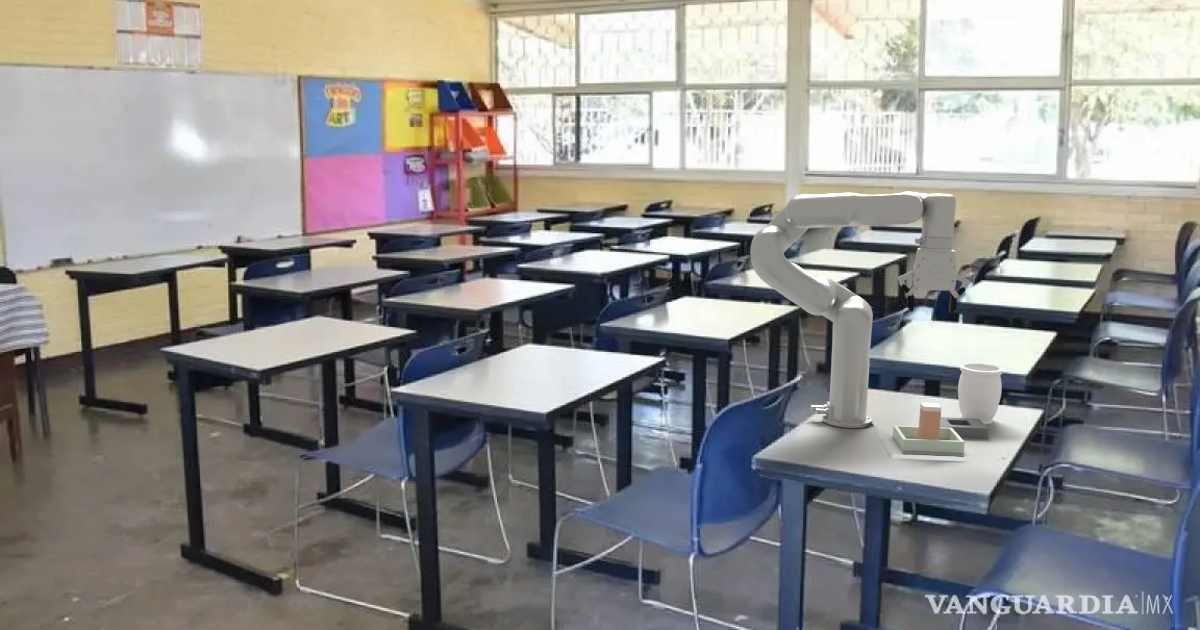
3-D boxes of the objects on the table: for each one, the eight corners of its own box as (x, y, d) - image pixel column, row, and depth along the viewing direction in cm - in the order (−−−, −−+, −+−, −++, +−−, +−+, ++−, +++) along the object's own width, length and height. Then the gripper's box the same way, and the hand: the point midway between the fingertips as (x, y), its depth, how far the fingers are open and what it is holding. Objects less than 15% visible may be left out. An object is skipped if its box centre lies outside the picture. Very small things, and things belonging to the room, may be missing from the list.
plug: (921, 447, 246) (923, 406, 244) (917, 442, 250) (920, 402, 248) (938, 448, 245) (941, 407, 244) (934, 443, 249) (937, 403, 248)
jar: (992, 418, 275) (997, 363, 272) (1003, 429, 265) (1008, 372, 262) (951, 417, 276) (955, 362, 273) (960, 427, 266) (965, 370, 263)
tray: (902, 454, 242) (903, 439, 242) (892, 439, 254) (893, 425, 254) (963, 456, 241) (964, 441, 241) (950, 441, 253) (952, 427, 252)
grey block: (937, 440, 254) (938, 426, 254) (929, 430, 263) (930, 416, 262) (987, 442, 253) (988, 428, 253) (977, 432, 262) (978, 418, 261)
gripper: (902, 243, 254) (896, 312, 257) (975, 247, 251) (969, 316, 254) (898, 240, 261) (893, 307, 264) (970, 243, 258) (964, 311, 261)
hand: (930, 311), depth 259 cm, fingers open, 9 cm apart
